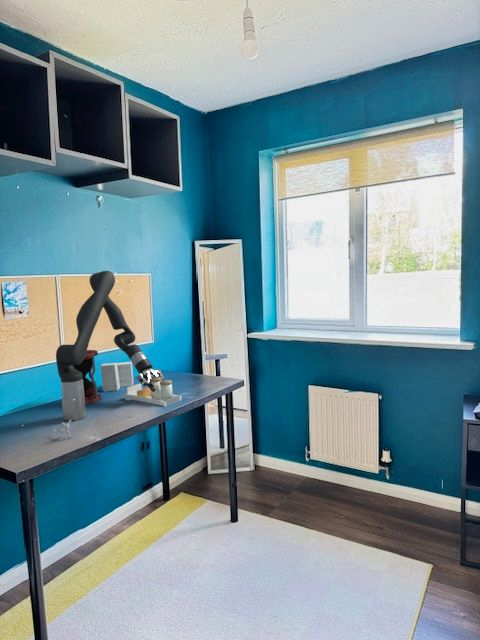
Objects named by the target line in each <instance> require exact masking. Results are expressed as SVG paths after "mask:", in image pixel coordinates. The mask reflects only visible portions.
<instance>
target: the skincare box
mask: <svg viewBox="0 0 480 640" xmlns="http://www.w3.org/2000/svg"><path fill="white" fill-rule="evenodd" d="M117 363H118V362H111V363H110V362H109V363H102V364H101V365H100V366H99V368H100V377H101V384H102V392H105V393H106V392H115V391H119V389H121V387H120V383H119V376H118V368H117Z"/></svg>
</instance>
